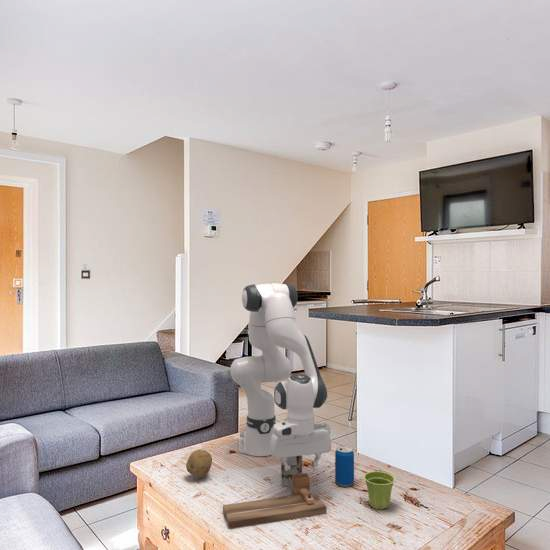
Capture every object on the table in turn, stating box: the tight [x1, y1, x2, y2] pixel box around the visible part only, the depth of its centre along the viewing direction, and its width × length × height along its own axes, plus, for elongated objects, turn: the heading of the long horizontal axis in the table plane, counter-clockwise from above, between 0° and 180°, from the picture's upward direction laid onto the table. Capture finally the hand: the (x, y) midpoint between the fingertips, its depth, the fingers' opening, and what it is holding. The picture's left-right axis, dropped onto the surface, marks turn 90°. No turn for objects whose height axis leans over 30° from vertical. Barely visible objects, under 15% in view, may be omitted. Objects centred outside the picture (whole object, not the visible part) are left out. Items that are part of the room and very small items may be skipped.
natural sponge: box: [185, 449, 213, 479], centre depth 165 cm, size 9×9×10 cm
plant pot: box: [363, 470, 396, 510], centre depth 145 cm, size 9×9×9 cm
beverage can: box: [334, 445, 355, 488], centre depth 161 cm, size 6×6×12 cm
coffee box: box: [280, 455, 303, 488], centre depth 162 cm, size 9×6×16 cm
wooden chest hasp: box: [291, 472, 314, 504], centre depth 147 cm, size 11×5×8 cm, turn 16°
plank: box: [222, 491, 327, 530], centre depth 141 cm, size 10×30×2 cm, turn 106°
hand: (301, 468), depth 150 cm, fingers open, 8 cm apart
